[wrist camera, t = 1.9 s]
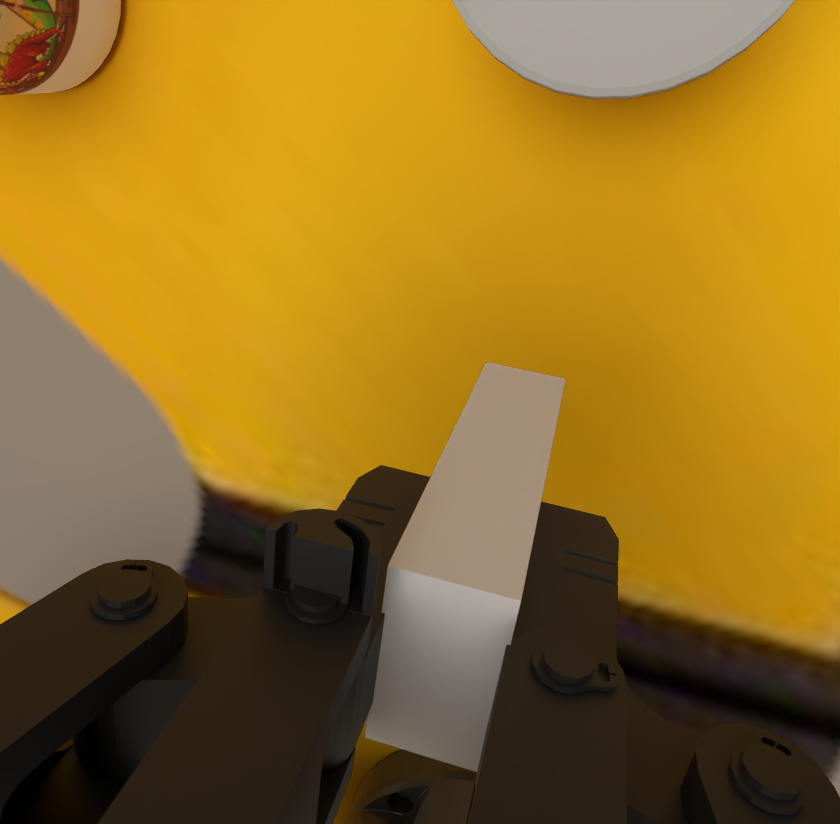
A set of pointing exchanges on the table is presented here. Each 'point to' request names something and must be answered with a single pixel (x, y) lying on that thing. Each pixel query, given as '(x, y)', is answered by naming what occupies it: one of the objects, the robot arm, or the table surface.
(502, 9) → the canned food
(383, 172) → the table surface
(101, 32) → the milk bottle
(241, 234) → the table surface
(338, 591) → the robot arm
